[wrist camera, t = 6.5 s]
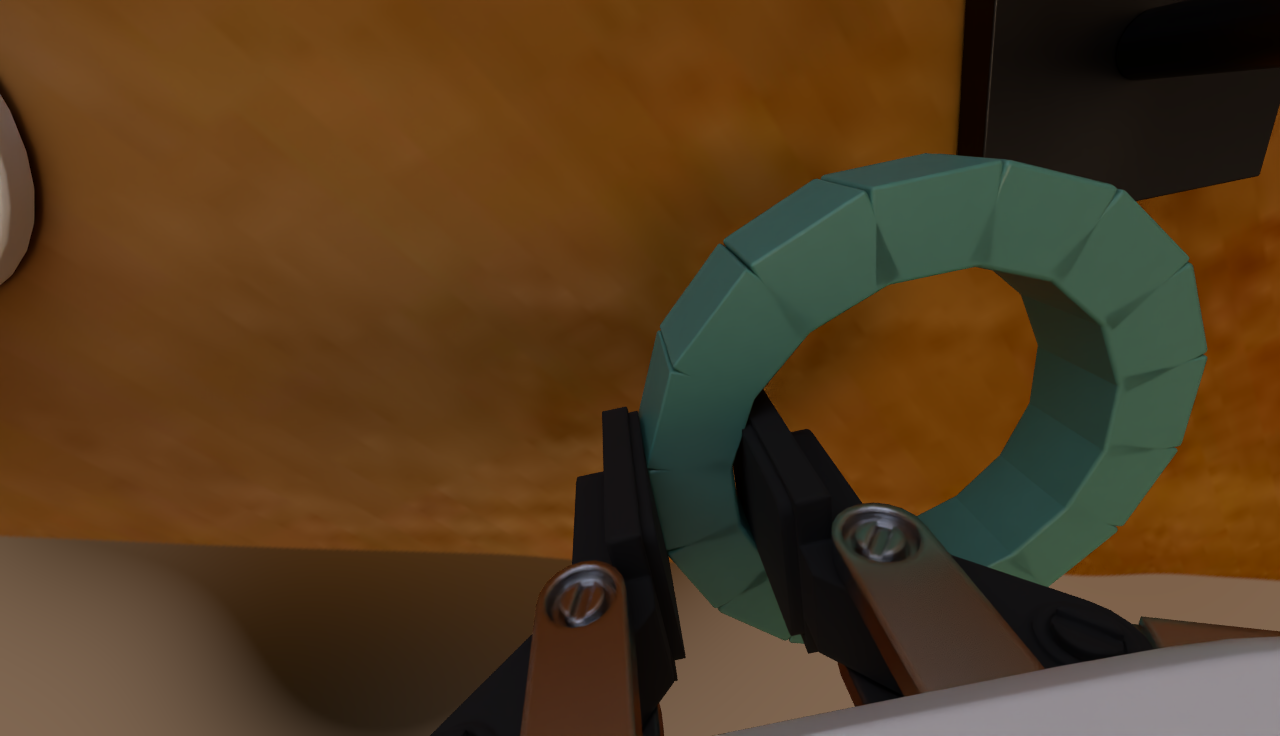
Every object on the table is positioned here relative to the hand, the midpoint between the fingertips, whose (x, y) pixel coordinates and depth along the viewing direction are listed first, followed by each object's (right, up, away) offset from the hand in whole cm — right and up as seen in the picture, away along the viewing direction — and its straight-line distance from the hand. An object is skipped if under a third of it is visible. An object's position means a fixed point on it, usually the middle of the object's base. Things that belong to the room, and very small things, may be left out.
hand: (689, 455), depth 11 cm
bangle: (+4, +1, 0) cm, 4 cm away
